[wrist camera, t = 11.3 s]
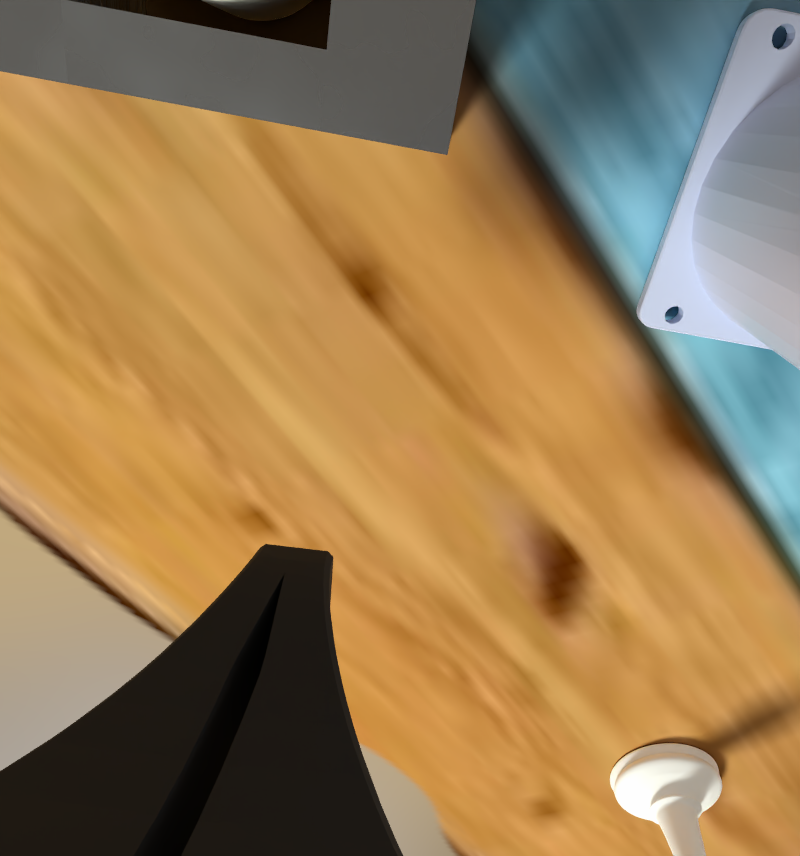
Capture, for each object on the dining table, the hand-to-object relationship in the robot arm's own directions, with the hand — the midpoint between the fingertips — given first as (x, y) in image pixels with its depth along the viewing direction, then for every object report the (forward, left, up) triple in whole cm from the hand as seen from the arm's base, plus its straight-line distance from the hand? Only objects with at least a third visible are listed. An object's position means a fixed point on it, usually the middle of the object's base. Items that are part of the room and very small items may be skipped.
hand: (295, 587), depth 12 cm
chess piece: (-17, +17, -10) cm, 26 cm away
